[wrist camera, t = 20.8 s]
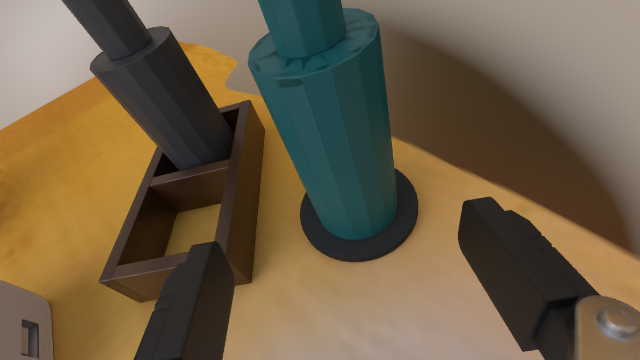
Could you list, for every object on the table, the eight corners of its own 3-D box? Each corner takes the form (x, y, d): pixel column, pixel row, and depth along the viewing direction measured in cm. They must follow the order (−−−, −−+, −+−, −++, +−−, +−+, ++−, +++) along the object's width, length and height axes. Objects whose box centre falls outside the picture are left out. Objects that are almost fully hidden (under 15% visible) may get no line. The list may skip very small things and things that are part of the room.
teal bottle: (309, 234, 23) (160, -40, 10) (329, 173, 26) (239, -89, 13) (391, 245, 20) (336, -88, 8) (402, 177, 24) (376, -132, 11)
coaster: (286, 252, 23) (283, 248, 22) (319, 163, 28) (317, 158, 28) (411, 271, 20) (411, 268, 19) (422, 167, 25) (422, 162, 24)
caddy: (138, 302, 23) (97, 282, 20) (189, 148, 35) (167, 121, 32) (251, 282, 22) (225, 258, 19) (265, 129, 34) (249, 99, 31)
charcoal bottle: (181, 190, 31) (7, 5, 18) (210, 147, 34) (81, -33, 21) (231, 194, 28) (73, -13, 16) (256, 148, 32) (144, -52, 19)
